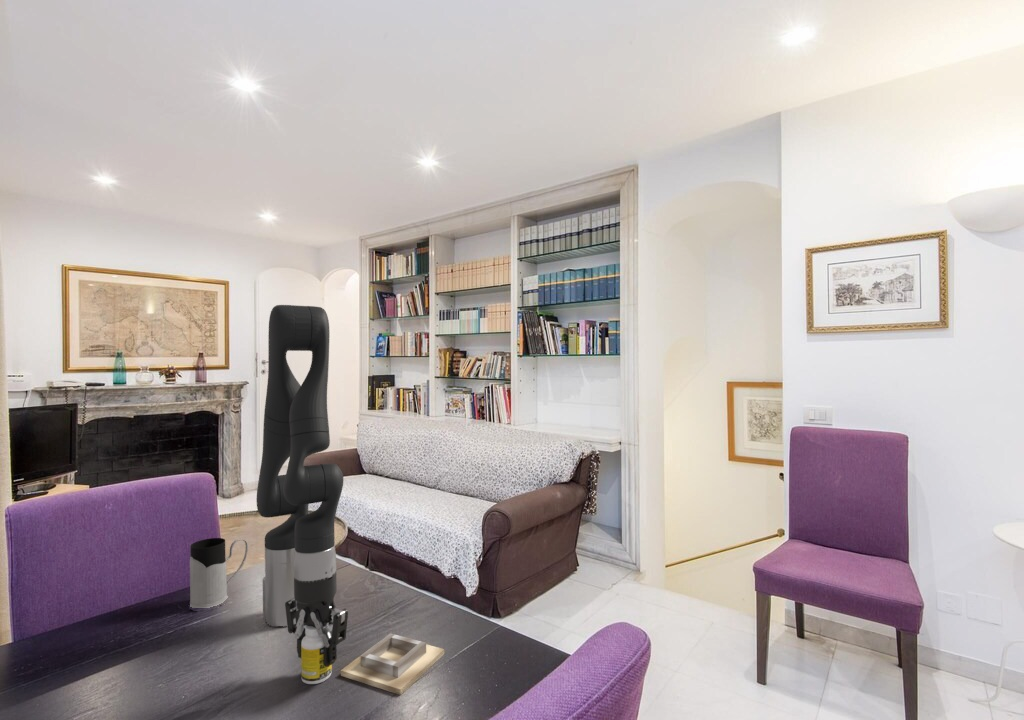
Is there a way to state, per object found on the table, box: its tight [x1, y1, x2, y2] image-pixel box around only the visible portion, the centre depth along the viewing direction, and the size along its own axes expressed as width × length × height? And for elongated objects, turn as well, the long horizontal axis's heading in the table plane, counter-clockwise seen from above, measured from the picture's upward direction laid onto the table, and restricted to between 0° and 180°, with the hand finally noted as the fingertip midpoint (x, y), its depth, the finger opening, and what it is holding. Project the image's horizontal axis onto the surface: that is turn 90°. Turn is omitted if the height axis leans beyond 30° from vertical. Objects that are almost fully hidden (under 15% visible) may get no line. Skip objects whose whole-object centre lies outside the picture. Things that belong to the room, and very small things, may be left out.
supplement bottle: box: [300, 623, 333, 685], centre depth 97 cm, size 5×5×10 cm
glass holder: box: [189, 537, 249, 608], centre depth 130 cm, size 9×14×15 cm, turn 145°
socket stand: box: [340, 633, 445, 696], centre depth 100 cm, size 14×14×3 cm
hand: (316, 659), depth 97 cm, fingers open, 6 cm apart
